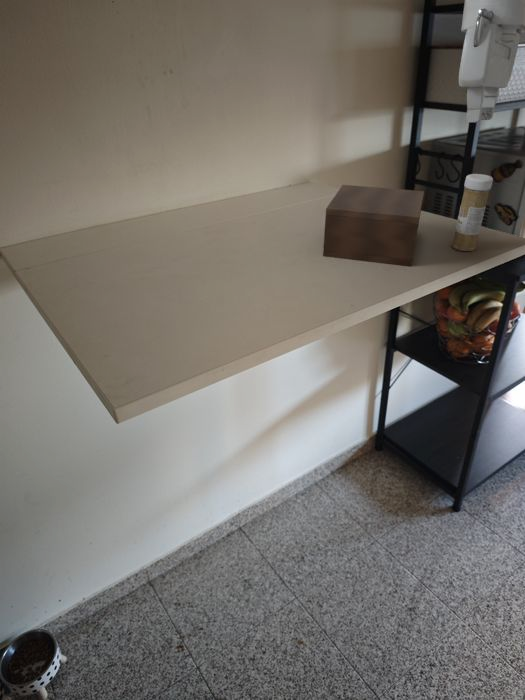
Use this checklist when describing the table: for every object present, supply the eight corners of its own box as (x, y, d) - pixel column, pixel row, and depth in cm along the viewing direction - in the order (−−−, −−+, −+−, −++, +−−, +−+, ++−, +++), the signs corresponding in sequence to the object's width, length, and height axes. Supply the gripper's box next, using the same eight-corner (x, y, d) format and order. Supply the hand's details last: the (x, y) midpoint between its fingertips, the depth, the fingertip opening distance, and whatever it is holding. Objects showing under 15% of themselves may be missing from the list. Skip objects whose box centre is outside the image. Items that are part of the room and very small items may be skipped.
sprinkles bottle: (448, 242, 98) (463, 172, 91) (472, 243, 98) (489, 173, 90) (453, 251, 94) (469, 179, 87) (478, 252, 94) (496, 180, 87)
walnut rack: (416, 235, 102) (424, 191, 97) (410, 266, 89) (419, 217, 84) (339, 227, 106) (342, 184, 101) (322, 255, 93) (326, 208, 88)
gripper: (506, 2, 62) (488, 123, 68) (528, 21, 78) (511, 118, 84) (454, 8, 66) (441, 124, 72) (485, 25, 81) (472, 119, 87)
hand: (479, 121), depth 78 cm, fingers open, 8 cm apart
